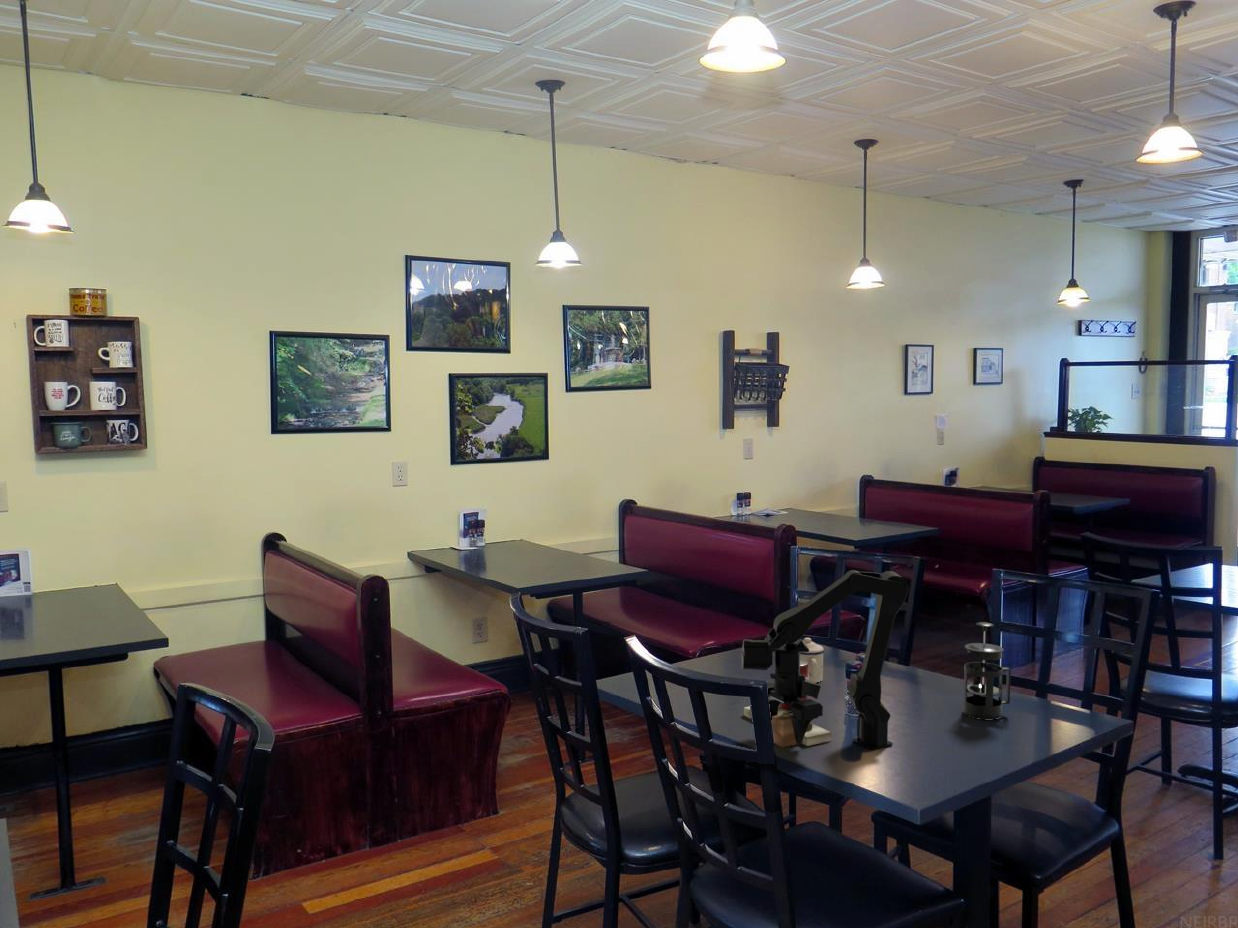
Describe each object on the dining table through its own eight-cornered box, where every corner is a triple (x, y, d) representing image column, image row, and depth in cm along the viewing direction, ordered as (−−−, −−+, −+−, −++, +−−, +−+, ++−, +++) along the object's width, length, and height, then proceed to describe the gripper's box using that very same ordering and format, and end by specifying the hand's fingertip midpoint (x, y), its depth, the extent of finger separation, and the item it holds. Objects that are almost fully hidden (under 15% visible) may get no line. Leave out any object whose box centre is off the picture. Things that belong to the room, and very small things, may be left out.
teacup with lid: (786, 675, 273) (787, 634, 272) (817, 674, 274) (818, 633, 273) (798, 687, 261) (799, 645, 260) (831, 686, 262) (832, 644, 261)
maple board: (830, 740, 221) (831, 731, 221) (807, 745, 218) (807, 736, 217) (766, 710, 242) (766, 702, 242) (743, 715, 239) (743, 706, 238)
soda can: (806, 704, 247) (807, 658, 246) (809, 714, 240) (810, 666, 239) (778, 703, 247) (778, 657, 247) (780, 713, 240) (780, 665, 239)
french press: (967, 720, 235) (969, 627, 233) (954, 707, 244) (956, 618, 243) (1015, 720, 235) (1018, 627, 233) (1000, 708, 244) (1003, 618, 242)
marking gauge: (815, 740, 221) (816, 711, 221) (782, 747, 217) (783, 717, 216) (804, 734, 225) (804, 706, 224) (771, 741, 220) (772, 712, 220)
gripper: (842, 675, 214) (841, 743, 215) (788, 655, 231) (788, 719, 232) (803, 682, 209) (802, 752, 210) (751, 661, 225) (750, 727, 226)
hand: (786, 737), depth 220 cm, fingers open, 9 cm apart
